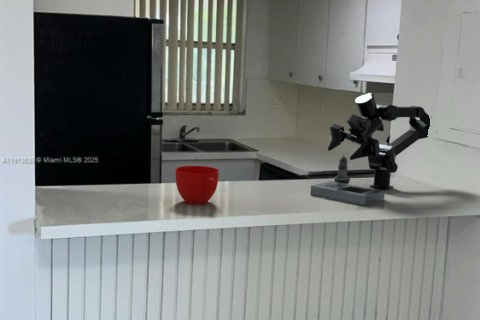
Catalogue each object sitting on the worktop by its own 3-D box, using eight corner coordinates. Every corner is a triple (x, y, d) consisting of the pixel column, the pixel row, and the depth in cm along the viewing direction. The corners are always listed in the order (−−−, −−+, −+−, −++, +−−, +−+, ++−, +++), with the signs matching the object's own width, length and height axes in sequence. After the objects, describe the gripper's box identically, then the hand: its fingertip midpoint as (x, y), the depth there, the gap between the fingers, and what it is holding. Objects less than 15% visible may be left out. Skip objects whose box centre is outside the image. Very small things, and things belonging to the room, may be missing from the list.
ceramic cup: (193, 212, 168) (194, 177, 166) (167, 199, 182) (168, 166, 180) (232, 208, 175) (234, 174, 173) (204, 196, 189) (205, 164, 187)
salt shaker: (350, 187, 213) (353, 154, 211) (348, 190, 208) (350, 156, 206) (334, 185, 215) (336, 152, 213) (331, 188, 209) (333, 154, 208)
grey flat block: (330, 189, 208) (331, 180, 207) (383, 199, 195) (384, 190, 195) (310, 194, 198) (310, 185, 197) (364, 205, 185) (365, 196, 185)
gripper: (342, 101, 207) (313, 127, 200) (388, 117, 195) (359, 144, 188) (346, 126, 214) (318, 151, 207) (390, 143, 202) (363, 170, 195)
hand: (339, 154), depth 199 cm, fingers open, 9 cm apart
